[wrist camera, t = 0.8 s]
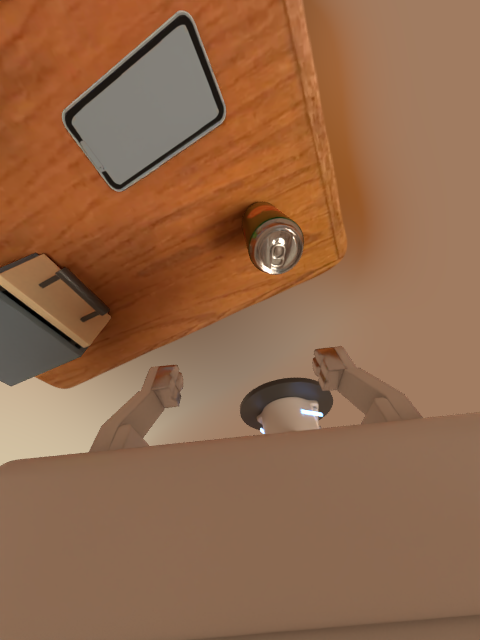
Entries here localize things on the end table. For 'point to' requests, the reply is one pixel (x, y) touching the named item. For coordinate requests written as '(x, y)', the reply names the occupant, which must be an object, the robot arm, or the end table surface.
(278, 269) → the soda can
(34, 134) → the end table surface
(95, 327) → the drawer
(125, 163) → the smartphone
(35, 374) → the cabinet
